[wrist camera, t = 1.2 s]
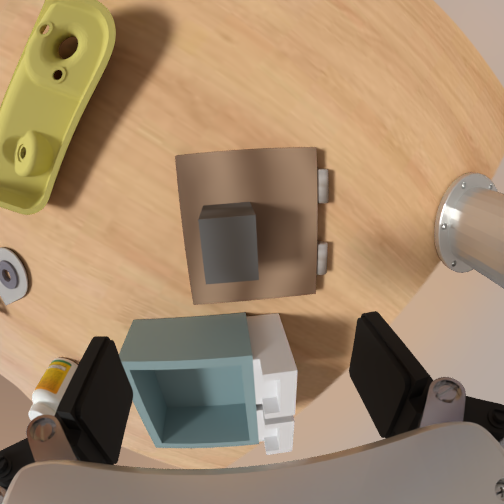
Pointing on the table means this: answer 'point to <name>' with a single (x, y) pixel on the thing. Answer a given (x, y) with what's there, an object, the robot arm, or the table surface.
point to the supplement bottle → (52, 387)
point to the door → (252, 223)
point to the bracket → (12, 277)
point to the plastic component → (50, 99)
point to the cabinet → (213, 380)
